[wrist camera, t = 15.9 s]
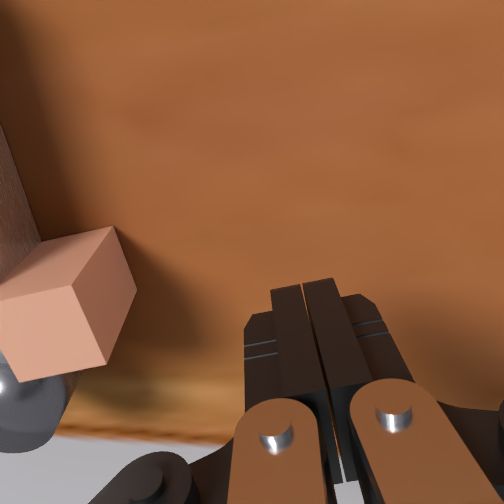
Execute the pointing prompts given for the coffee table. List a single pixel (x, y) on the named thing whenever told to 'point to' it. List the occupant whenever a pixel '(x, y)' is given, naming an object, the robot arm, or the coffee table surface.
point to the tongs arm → (3, 379)
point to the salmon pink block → (65, 305)
